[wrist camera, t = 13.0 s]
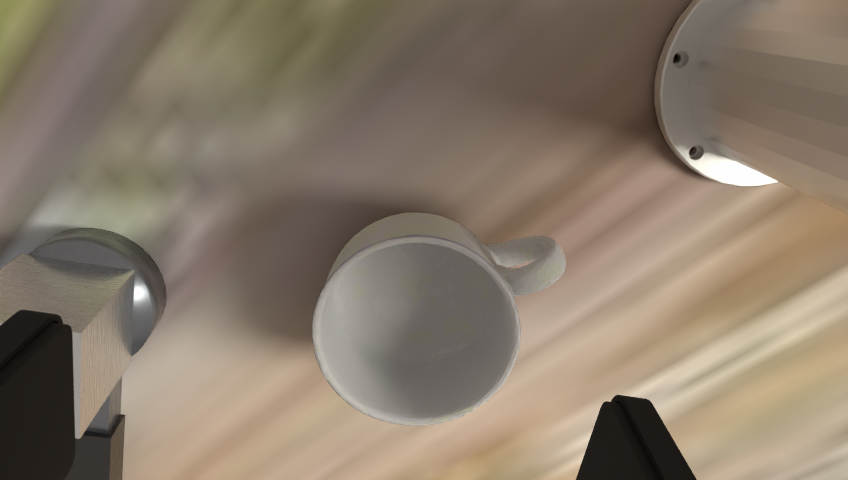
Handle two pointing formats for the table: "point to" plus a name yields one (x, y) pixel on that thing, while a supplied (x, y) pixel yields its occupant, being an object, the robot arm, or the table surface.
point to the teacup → (425, 316)
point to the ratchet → (104, 437)
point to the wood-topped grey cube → (78, 319)
